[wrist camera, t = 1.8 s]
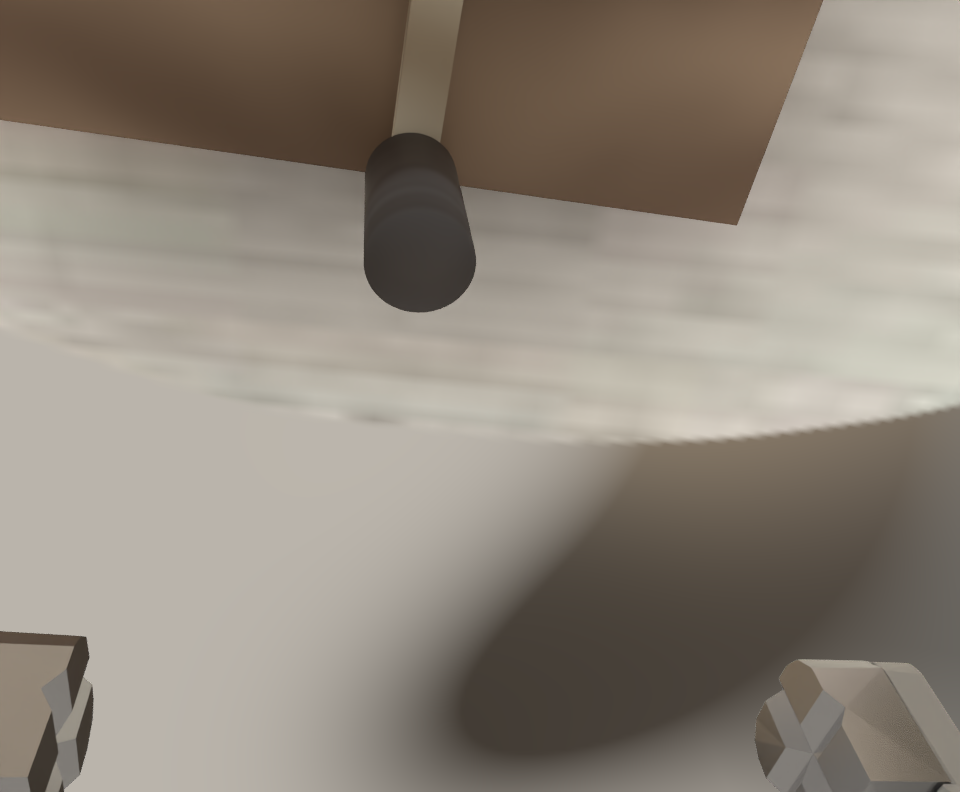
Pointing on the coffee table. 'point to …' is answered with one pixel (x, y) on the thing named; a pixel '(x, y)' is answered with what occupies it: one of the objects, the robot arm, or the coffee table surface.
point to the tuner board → (471, 97)
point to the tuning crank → (419, 177)
